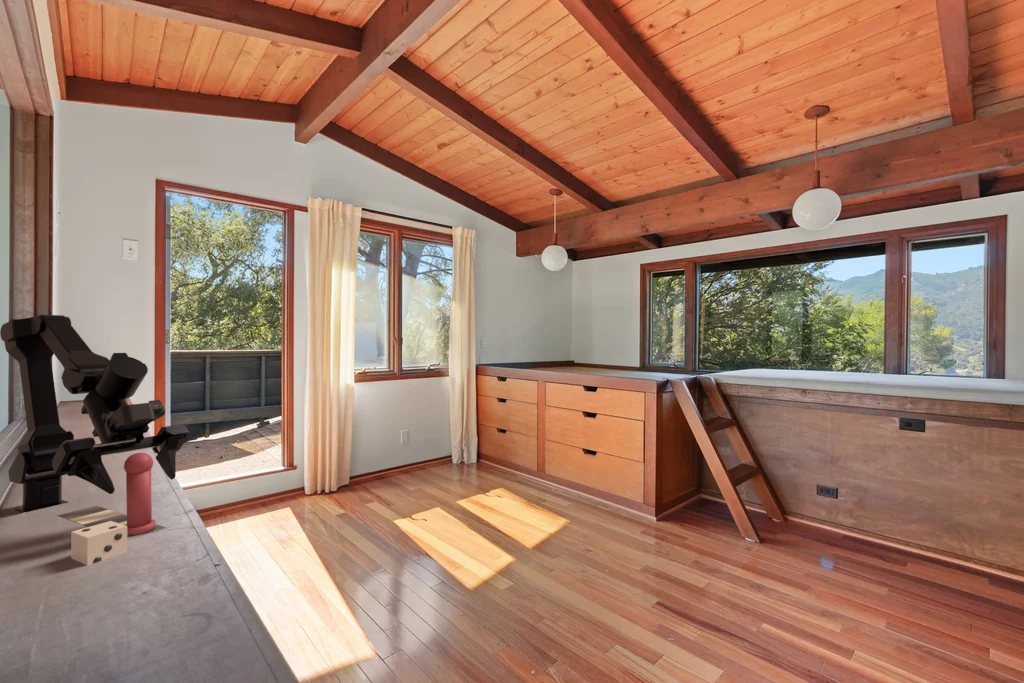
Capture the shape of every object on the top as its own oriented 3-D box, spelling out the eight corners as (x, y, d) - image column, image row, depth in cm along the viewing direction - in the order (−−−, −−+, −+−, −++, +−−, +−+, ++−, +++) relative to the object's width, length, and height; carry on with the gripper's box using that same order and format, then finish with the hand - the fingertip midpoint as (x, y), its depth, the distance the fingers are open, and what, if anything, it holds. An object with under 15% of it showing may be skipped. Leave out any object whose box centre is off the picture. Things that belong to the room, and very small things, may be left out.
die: (71, 564, 72) (71, 531, 72) (110, 551, 76) (110, 520, 76) (87, 571, 70) (87, 537, 70) (127, 558, 74) (127, 525, 74)
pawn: (117, 533, 81) (116, 454, 81) (146, 524, 85) (146, 449, 85) (131, 537, 79) (130, 457, 79) (160, 528, 83) (159, 451, 83)
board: (54, 521, 89) (54, 516, 89) (98, 510, 95) (98, 505, 95) (124, 547, 78) (124, 541, 78) (169, 532, 84) (169, 526, 84)
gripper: (60, 391, 76) (94, 468, 71) (184, 382, 92) (219, 444, 88) (38, 436, 79) (69, 512, 74) (161, 420, 96) (193, 481, 91)
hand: (144, 484), depth 82 cm, fingers open, 9 cm apart
